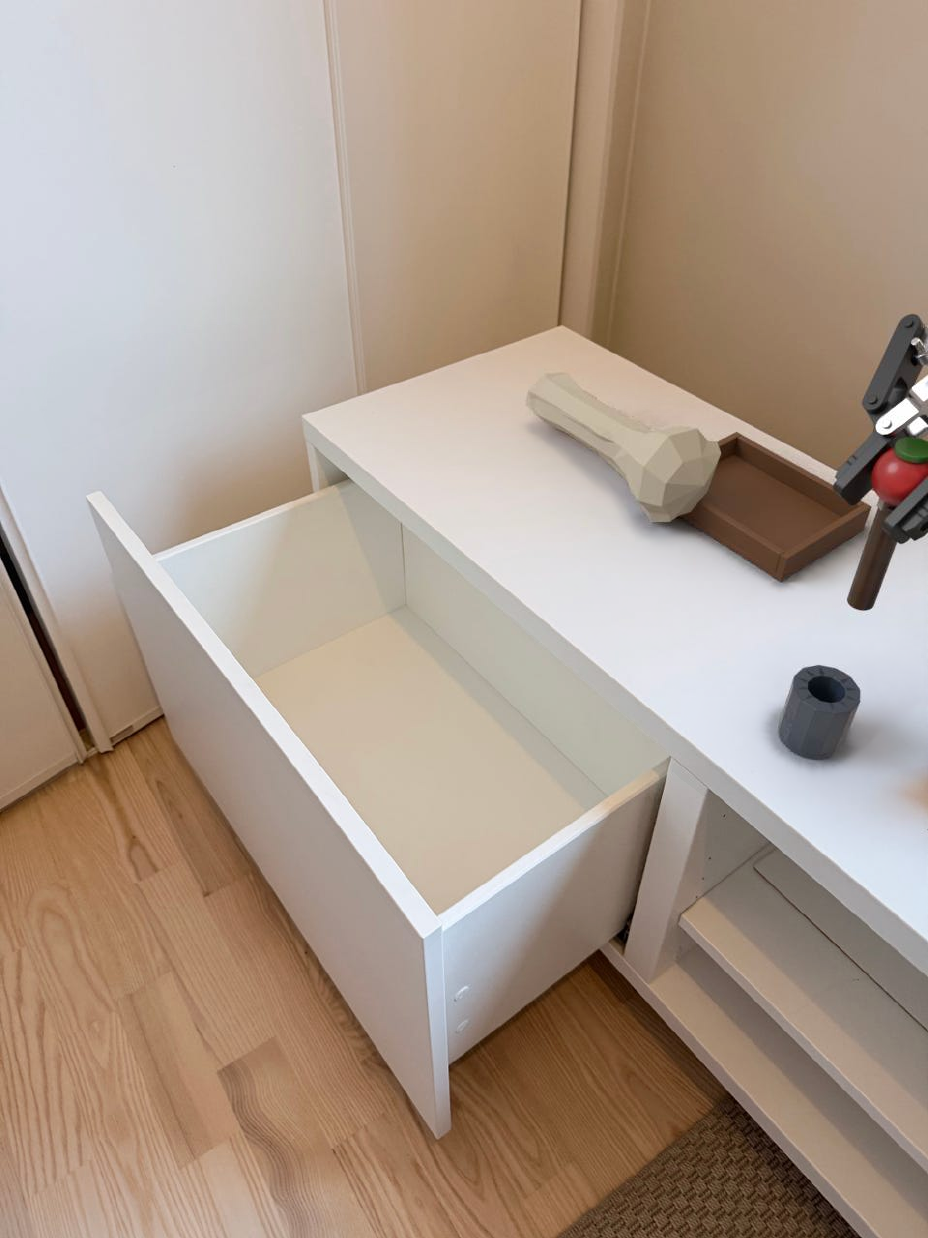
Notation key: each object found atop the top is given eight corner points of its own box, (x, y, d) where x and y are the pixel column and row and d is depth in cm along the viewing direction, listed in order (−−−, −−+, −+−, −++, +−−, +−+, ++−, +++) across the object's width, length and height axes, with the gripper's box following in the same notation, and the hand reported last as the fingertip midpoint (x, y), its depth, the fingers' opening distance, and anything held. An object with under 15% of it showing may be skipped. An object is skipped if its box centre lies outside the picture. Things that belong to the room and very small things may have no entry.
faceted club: (650, 543, 81) (492, 425, 97) (718, 532, 85) (556, 421, 102) (682, 449, 76) (510, 342, 92) (752, 442, 80) (576, 341, 97)
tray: (864, 529, 84) (872, 506, 82) (780, 582, 79) (787, 558, 77) (731, 453, 93) (736, 431, 91) (649, 497, 88) (653, 474, 86)
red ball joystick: (900, 616, 57) (963, 459, 49) (848, 625, 56) (904, 469, 49) (870, 580, 59) (926, 425, 52) (821, 589, 59) (869, 434, 51)
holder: (853, 753, 66) (873, 706, 62) (795, 765, 65) (812, 719, 62) (822, 707, 69) (840, 660, 65) (767, 718, 68) (781, 671, 65)
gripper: (989, 170, 49) (757, 426, 54) (1250, 268, 40) (940, 567, 45) (1025, 251, 55) (809, 478, 60) (1262, 355, 45) (983, 614, 50)
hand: (867, 515), depth 52 cm, fingers closed on red ball joystick, 3 cm apart
